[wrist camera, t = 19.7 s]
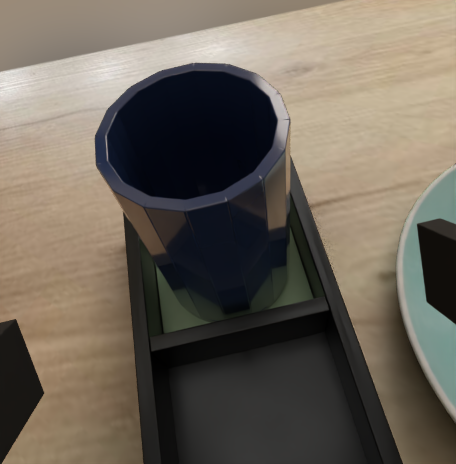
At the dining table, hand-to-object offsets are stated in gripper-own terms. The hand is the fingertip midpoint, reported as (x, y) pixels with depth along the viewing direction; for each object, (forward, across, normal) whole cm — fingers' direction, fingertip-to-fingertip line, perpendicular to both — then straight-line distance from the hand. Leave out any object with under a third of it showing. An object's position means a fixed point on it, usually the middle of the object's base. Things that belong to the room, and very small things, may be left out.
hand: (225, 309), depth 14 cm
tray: (+10, 0, -7) cm, 12 cm away
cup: (+12, 0, -3) cm, 13 cm away
